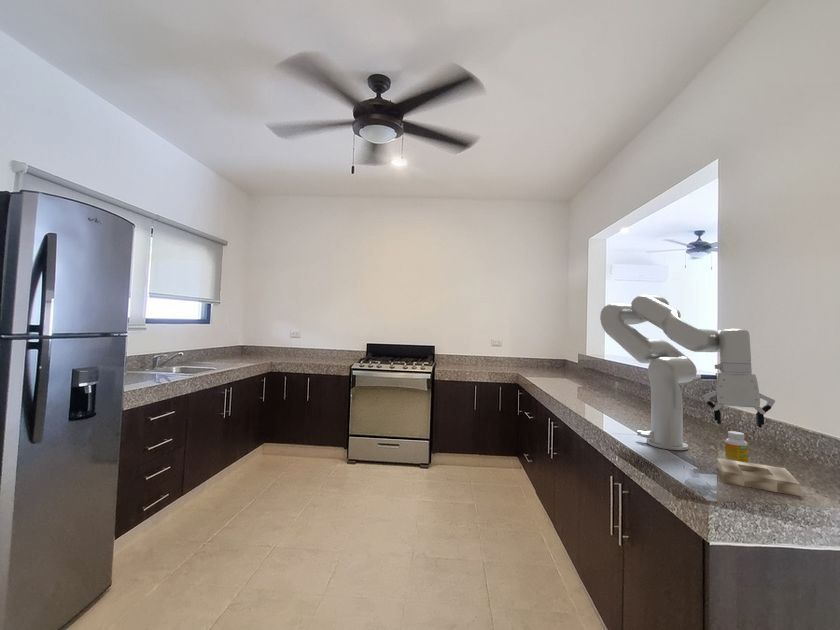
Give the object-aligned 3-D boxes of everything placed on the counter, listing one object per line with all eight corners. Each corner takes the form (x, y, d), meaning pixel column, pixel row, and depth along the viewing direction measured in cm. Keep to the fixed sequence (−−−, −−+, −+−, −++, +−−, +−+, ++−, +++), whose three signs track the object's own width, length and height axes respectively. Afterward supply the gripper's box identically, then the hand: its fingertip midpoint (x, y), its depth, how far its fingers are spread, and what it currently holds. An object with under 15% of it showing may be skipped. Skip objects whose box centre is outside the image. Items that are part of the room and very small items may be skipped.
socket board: (723, 482, 103) (723, 471, 103) (717, 468, 115) (717, 457, 115) (800, 496, 95) (800, 483, 95) (785, 479, 107) (785, 468, 107)
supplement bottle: (741, 468, 115) (741, 435, 116) (721, 463, 120) (721, 431, 121) (752, 466, 117) (751, 434, 118) (731, 461, 122) (731, 430, 123)
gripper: (702, 368, 122) (704, 423, 120) (775, 370, 112) (779, 430, 111) (700, 367, 128) (702, 420, 127) (769, 369, 119) (773, 426, 117)
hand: (738, 425), depth 119 cm, fingers open, 9 cm apart
